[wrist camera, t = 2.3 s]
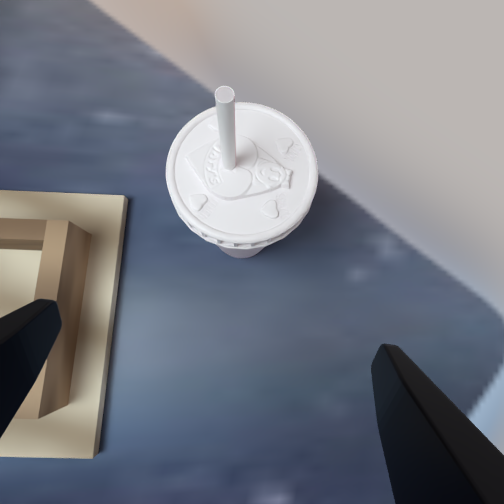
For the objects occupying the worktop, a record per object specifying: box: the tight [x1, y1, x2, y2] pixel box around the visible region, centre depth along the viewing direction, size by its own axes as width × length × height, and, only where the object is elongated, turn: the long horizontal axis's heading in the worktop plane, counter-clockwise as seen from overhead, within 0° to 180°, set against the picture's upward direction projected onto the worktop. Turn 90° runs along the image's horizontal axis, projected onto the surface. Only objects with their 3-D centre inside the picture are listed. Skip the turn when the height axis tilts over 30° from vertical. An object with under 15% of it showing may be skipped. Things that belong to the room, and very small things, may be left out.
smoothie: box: [166, 86, 318, 258], centre depth 16 cm, size 6×6×14 cm
